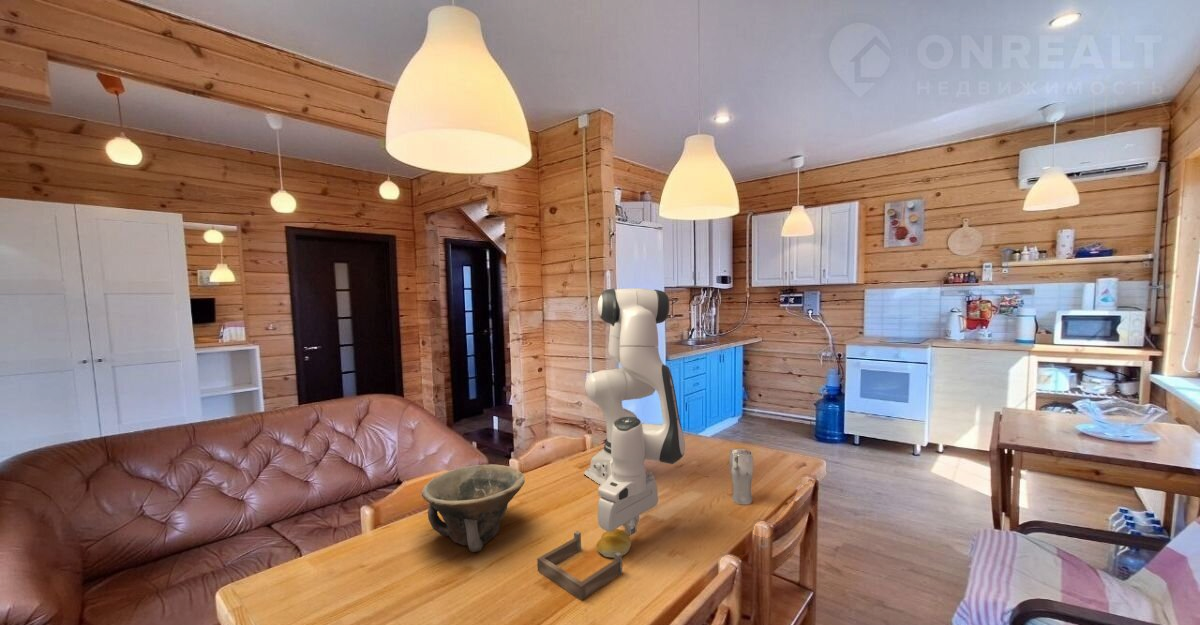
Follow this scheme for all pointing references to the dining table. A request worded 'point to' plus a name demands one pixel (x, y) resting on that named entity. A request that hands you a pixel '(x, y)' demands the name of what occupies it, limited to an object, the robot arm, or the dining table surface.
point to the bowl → (471, 502)
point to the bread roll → (613, 543)
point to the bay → (568, 581)
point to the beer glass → (741, 475)
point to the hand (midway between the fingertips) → (630, 533)
